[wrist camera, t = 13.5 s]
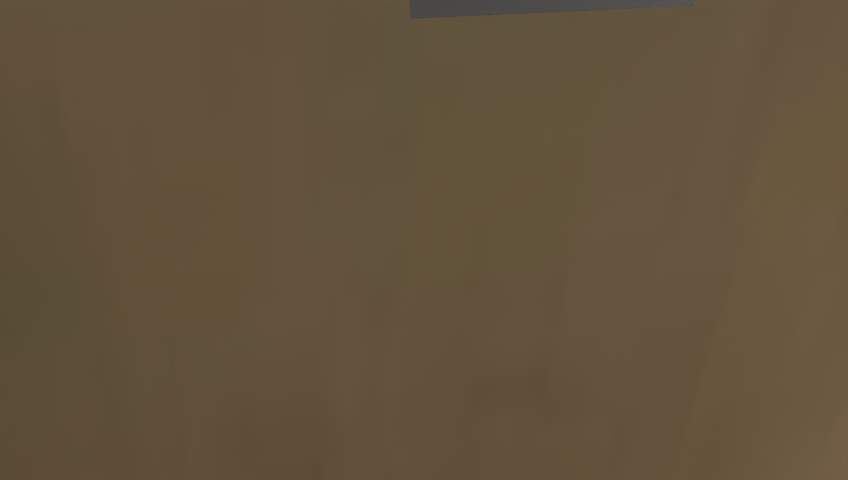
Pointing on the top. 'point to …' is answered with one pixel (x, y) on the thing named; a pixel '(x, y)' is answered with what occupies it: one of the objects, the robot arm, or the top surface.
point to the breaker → (526, 6)
